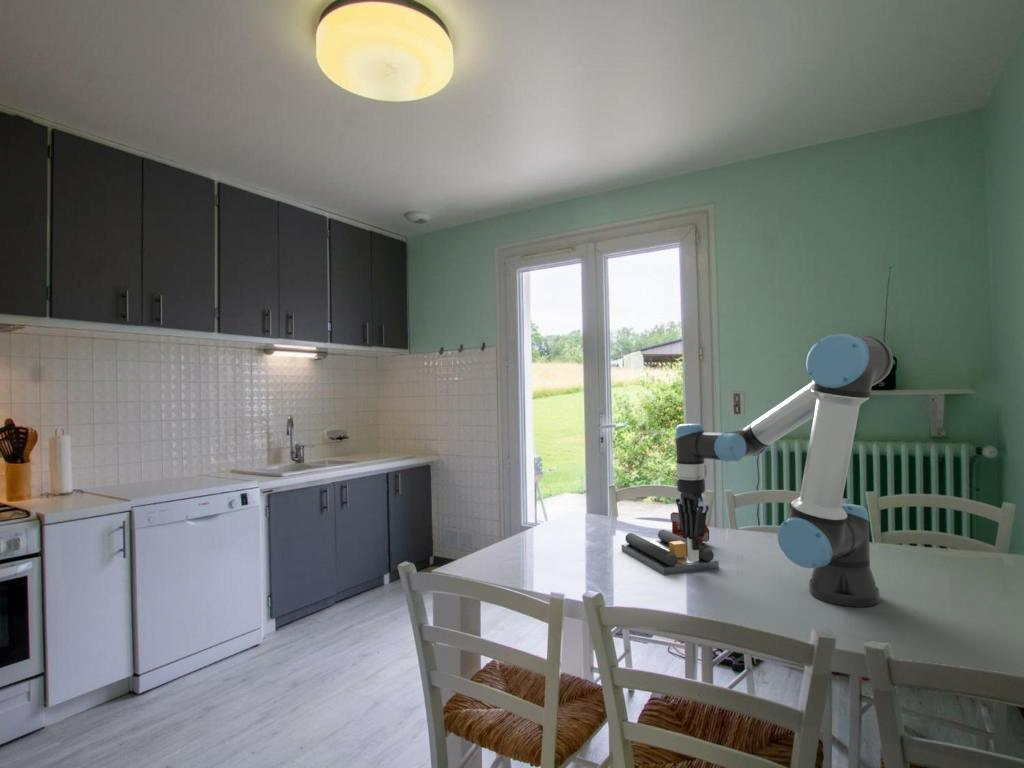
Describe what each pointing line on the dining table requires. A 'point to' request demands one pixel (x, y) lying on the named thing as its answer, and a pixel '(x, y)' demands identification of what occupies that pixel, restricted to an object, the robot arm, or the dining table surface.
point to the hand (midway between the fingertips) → (693, 560)
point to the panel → (663, 568)
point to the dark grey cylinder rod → (652, 549)
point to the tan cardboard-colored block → (678, 548)
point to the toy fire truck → (677, 530)
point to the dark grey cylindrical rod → (670, 537)
